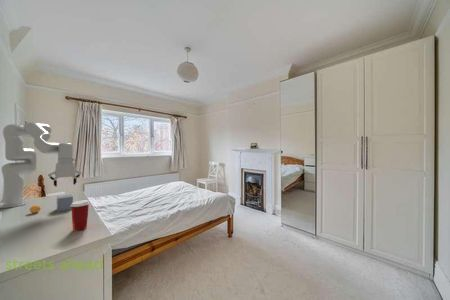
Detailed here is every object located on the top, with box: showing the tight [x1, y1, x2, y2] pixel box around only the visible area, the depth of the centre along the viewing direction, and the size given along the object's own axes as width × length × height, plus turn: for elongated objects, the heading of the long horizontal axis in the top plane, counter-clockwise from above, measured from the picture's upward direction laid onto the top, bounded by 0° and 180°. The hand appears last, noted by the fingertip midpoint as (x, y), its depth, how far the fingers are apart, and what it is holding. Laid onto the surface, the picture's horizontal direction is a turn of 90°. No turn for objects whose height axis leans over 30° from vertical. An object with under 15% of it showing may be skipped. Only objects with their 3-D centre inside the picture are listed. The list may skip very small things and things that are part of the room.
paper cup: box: [71, 199, 90, 232], centre depth 93 cm, size 8×8×14 cm
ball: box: [29, 204, 42, 214], centre depth 116 cm, size 5×5×5 cm
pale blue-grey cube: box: [56, 194, 74, 213], centre depth 123 cm, size 8×8×9 cm
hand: (65, 185), depth 123 cm, fingers open, 9 cm apart
